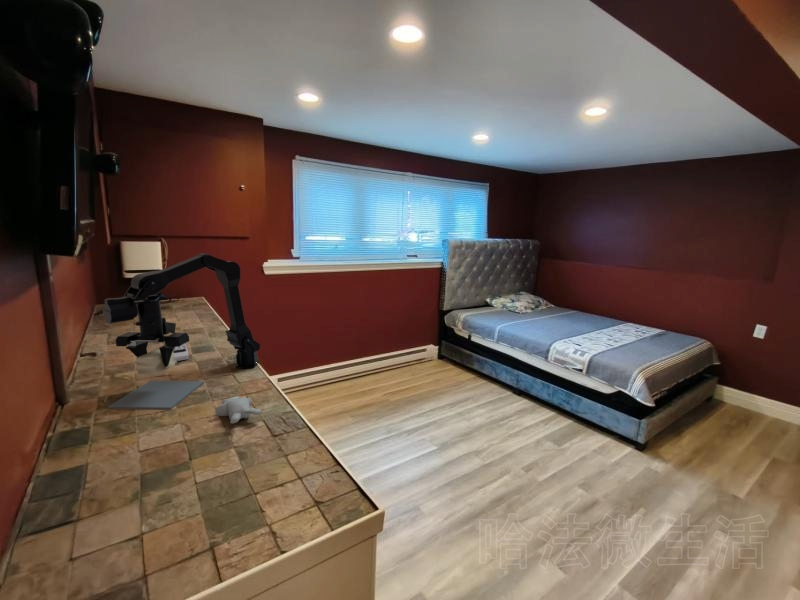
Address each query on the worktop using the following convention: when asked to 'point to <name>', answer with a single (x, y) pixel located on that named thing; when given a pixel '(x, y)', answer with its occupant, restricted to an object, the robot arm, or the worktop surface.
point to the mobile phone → (180, 353)
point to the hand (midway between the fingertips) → (156, 366)
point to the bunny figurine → (236, 408)
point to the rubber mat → (157, 395)
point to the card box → (152, 363)
